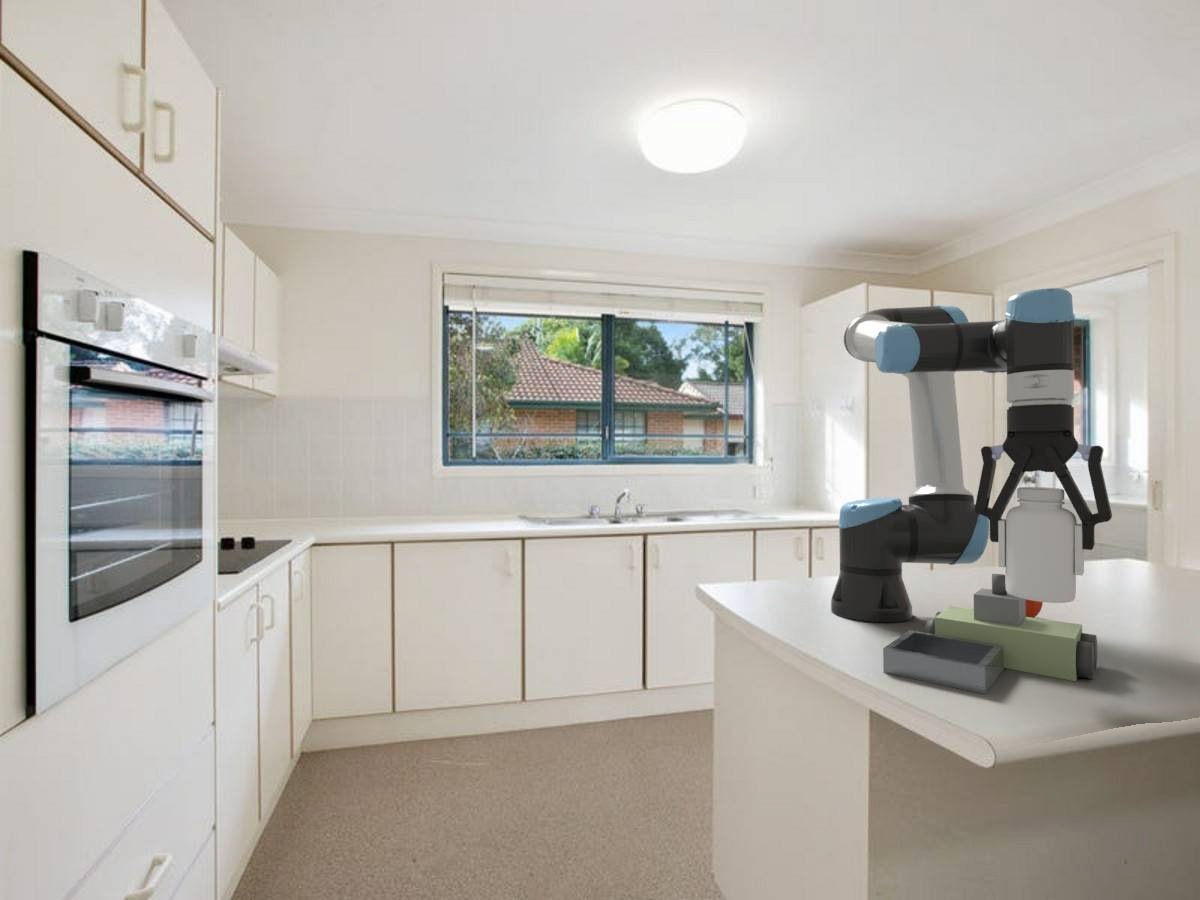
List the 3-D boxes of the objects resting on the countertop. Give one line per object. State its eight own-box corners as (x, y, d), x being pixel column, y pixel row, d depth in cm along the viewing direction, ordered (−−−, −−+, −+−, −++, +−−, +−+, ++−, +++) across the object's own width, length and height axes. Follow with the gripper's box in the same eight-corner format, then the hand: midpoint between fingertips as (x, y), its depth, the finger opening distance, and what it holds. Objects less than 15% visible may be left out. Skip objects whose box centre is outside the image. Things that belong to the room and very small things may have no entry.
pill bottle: (1053, 606, 80) (1052, 490, 80) (992, 593, 88) (992, 487, 87) (1090, 600, 83) (1089, 488, 83) (1028, 588, 91) (1028, 485, 91)
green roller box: (923, 652, 101) (922, 572, 101) (941, 637, 109) (940, 563, 109) (1091, 684, 86) (1089, 590, 87) (1097, 664, 95) (1096, 579, 95)
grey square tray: (883, 672, 92) (883, 648, 92) (910, 651, 101) (909, 630, 101) (985, 694, 83) (984, 667, 83) (1003, 669, 93) (1003, 646, 93)
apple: (1045, 618, 122) (1045, 577, 122) (1040, 626, 116) (1039, 583, 116) (998, 611, 128) (997, 572, 128) (990, 619, 122) (990, 578, 122)
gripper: (948, 406, 90) (949, 564, 90) (1138, 398, 76) (1139, 584, 76) (960, 408, 95) (961, 557, 95) (1140, 401, 81) (1140, 575, 81)
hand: (1040, 569), depth 85 cm, fingers closed on pill bottle, 8 cm apart
